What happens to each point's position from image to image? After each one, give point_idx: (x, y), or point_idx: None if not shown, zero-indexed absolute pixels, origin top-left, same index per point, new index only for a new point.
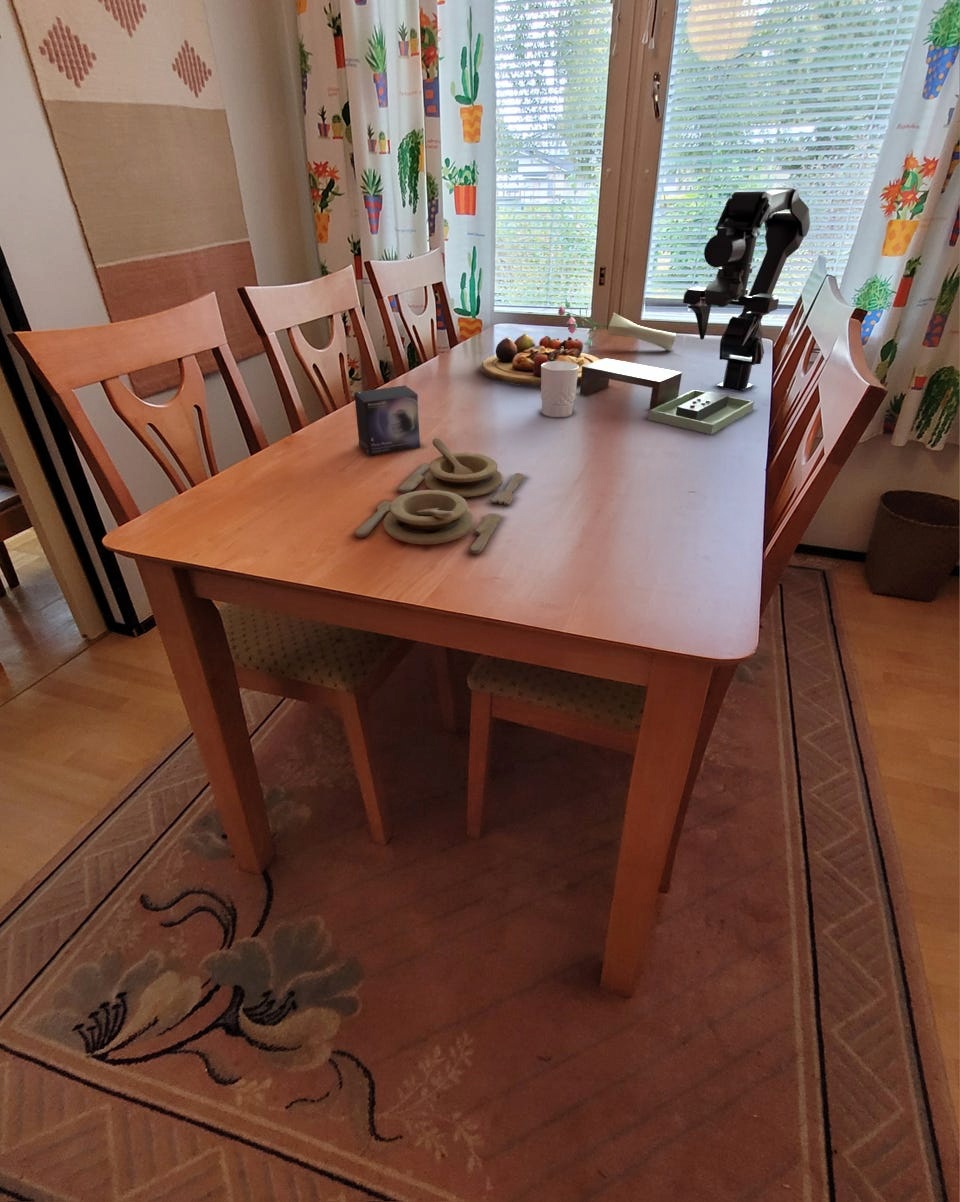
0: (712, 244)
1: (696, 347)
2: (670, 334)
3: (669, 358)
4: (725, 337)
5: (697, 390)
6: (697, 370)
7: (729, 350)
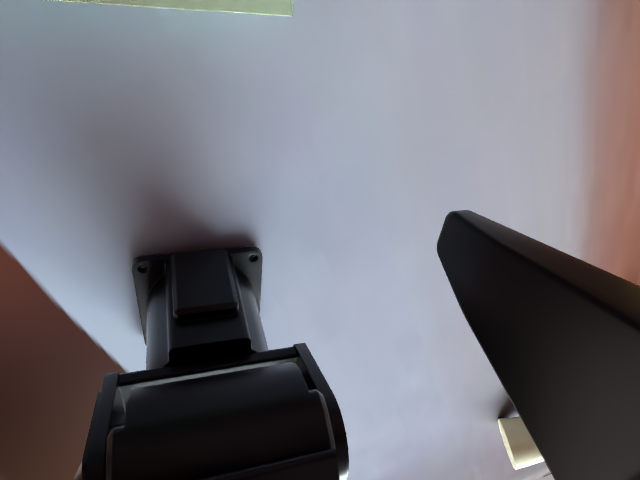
0: None
1: (443, 470)
2: (530, 457)
3: (491, 381)
4: (314, 432)
5: (264, 6)
6: (392, 354)
7: (254, 375)
